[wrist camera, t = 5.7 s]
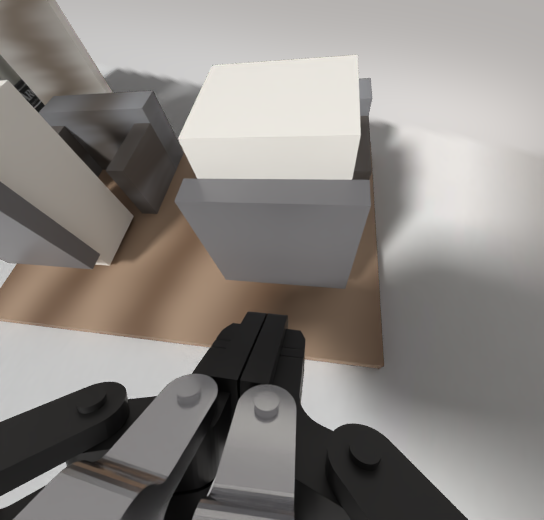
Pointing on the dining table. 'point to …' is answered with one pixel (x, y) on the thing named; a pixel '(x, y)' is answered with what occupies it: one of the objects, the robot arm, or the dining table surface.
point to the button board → (162, 220)
